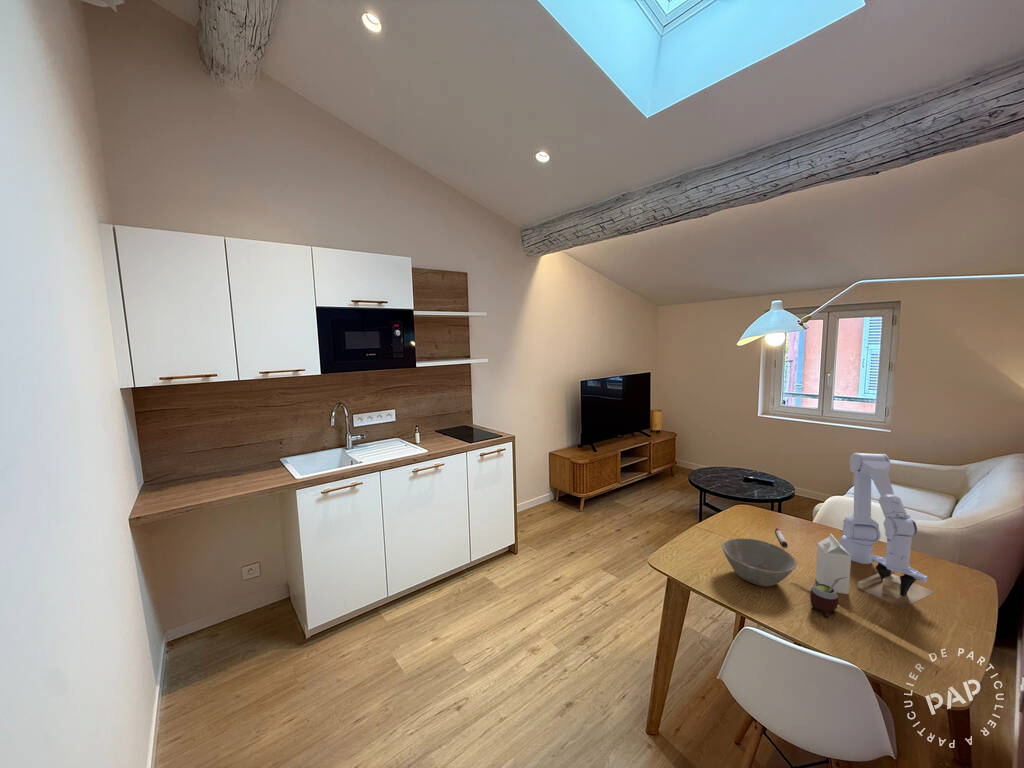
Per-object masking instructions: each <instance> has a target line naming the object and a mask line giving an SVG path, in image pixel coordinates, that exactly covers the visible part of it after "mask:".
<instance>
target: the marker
mask: <svg viewBox="0 0 1024 768" xmlns="http://www.w3.org/2000/svg"><path fill="white" fill-rule="evenodd" d="M774 532H775V534H776V536H777V538H778V540H779V541H780V544H781V545H782V547H785V546H786V547H785V548H787V547H788V543H787V540H786V538H785V537H784V535H783V533H782V531H781V530H780V529H778V528H775V530H774Z"/></svg>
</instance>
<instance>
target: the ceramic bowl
mask: <svg viewBox="0 0 1024 768" xmlns="http://www.w3.org/2000/svg"><path fill="white" fill-rule="evenodd" d="M721 549H722V551H723V554H724V555H725V557H726V560H727V562H728V563H729V565H730V566H731V567H732V569H733V571H734V572H735V573H736V574H737V576H738V577H739V578H741V579H742V580H744V581H746V582H749V583H750V584H751V583H752V584H754V585H757V586H760V587H765V588H767V587H771V586H775V585H778V584H779V583H780V582H781V581H783V580H784V579H786V578H787V577H788V576H790V574H792V572H793V571H794V570H795V569H796V567H797V560H796V559H795V558H794V556H792V554H790V553H789V552H788V551H787V550H785V549H784V548H782V547H780V546H777V545H775V544H772V543H769V542H767V541H764V540H760V539H759V540H758V539H753V538H742V537H741V538H731V539H729V540H726V541H725V542H723V543H722V545H721Z"/></svg>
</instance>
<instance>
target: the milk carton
mask: <svg viewBox="0 0 1024 768" xmlns="http://www.w3.org/2000/svg"><path fill="white" fill-rule="evenodd" d="M816 548H817V551H816V563H815V564H816V565H815V566H816V567H815V580H816V582H817V584H825V585H828V586H830V587H831V586H832V584H833V583H834V580H835V579H837V578H840V577H847V578H844V579H841V580H839V581H838V582H837V583H836V584H835V586H834V587H833V589H834V590H835V592H836V593H837V594H845V595H849V594H850V593H849V592H850V579H851V564H852V560H851V555H850V554H849V553H848V552H847V551H846V550H845V549H844V548H843V547H842V546H841V545H840V543H839V541H838V539H836V537H834V535H833V534H832V533H829V536H828V537H826V538H825V539H822V540H821V541H819V542H817V547H816Z"/></svg>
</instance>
